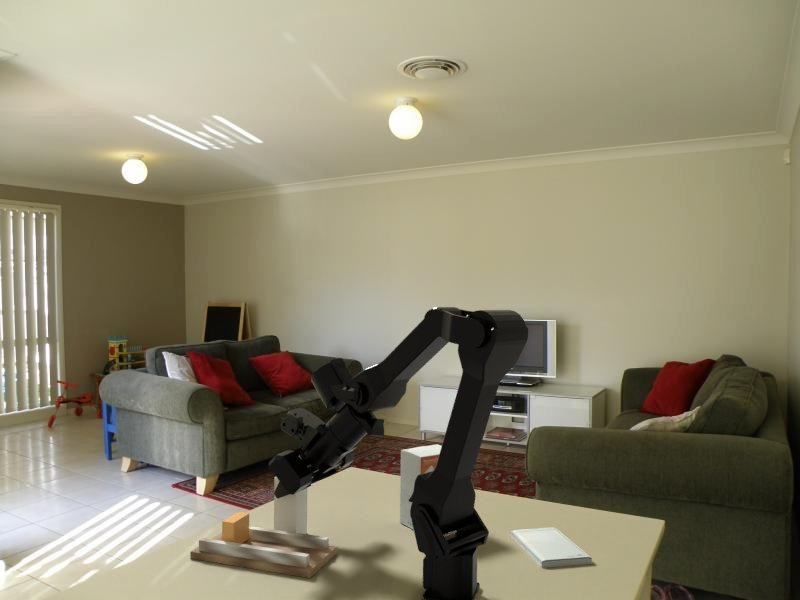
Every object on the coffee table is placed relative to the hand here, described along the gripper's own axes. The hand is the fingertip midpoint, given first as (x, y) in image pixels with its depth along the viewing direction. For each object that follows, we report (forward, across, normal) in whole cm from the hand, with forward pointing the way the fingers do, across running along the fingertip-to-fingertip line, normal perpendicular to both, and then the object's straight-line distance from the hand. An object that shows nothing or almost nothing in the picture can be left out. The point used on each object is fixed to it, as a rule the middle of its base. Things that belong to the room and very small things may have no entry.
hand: (283, 492), depth 105 cm
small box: (-9, -15, +20) cm, 26 cm away
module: (+4, 0, +6) cm, 7 cm away
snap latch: (+6, +9, +2) cm, 11 cm away
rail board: (+4, +8, +6) cm, 11 cm away
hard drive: (-24, -12, +35) cm, 44 cm away
